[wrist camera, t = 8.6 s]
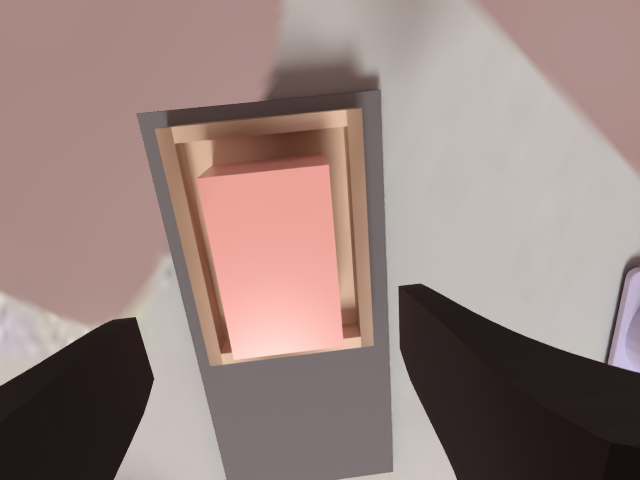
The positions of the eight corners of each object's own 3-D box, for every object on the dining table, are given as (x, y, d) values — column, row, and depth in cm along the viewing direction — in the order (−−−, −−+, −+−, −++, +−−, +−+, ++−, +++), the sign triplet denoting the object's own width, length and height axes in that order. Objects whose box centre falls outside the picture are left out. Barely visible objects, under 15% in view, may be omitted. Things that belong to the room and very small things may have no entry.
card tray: (355, 107, 16) (361, 108, 14) (367, 327, 20) (373, 345, 18) (167, 126, 16) (154, 128, 14) (216, 345, 19) (210, 366, 18)
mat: (377, 90, 16) (380, 89, 16) (390, 462, 24) (393, 471, 23) (141, 113, 16) (136, 113, 15) (232, 484, 24) (230, 494, 23)
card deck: (335, 309, 19) (343, 346, 16) (241, 320, 19) (233, 360, 16) (321, 153, 16) (328, 164, 13) (212, 164, 16) (196, 178, 13)
